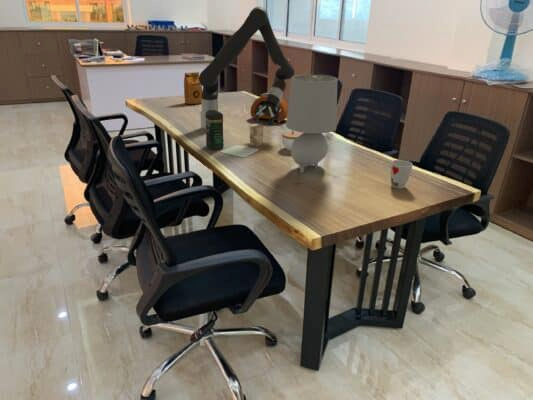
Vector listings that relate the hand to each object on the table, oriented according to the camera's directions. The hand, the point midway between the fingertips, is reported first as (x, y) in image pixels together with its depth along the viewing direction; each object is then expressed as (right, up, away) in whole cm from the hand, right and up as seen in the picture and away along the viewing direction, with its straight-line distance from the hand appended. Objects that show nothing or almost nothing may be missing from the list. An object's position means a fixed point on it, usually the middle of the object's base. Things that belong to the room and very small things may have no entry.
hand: (262, 123), depth 218 cm
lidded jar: (+15, -14, -6) cm, 21 cm away
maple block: (-3, -11, 0) cm, 11 cm away
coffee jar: (-24, -14, -7) cm, 28 cm away
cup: (+56, -35, -47) cm, 81 cm away
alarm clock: (+4, +11, +48) cm, 49 cm away
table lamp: (+21, -26, -31) cm, 45 cm away
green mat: (-11, -16, -12) cm, 23 cm away
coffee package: (-50, +30, +85) cm, 103 cm away
